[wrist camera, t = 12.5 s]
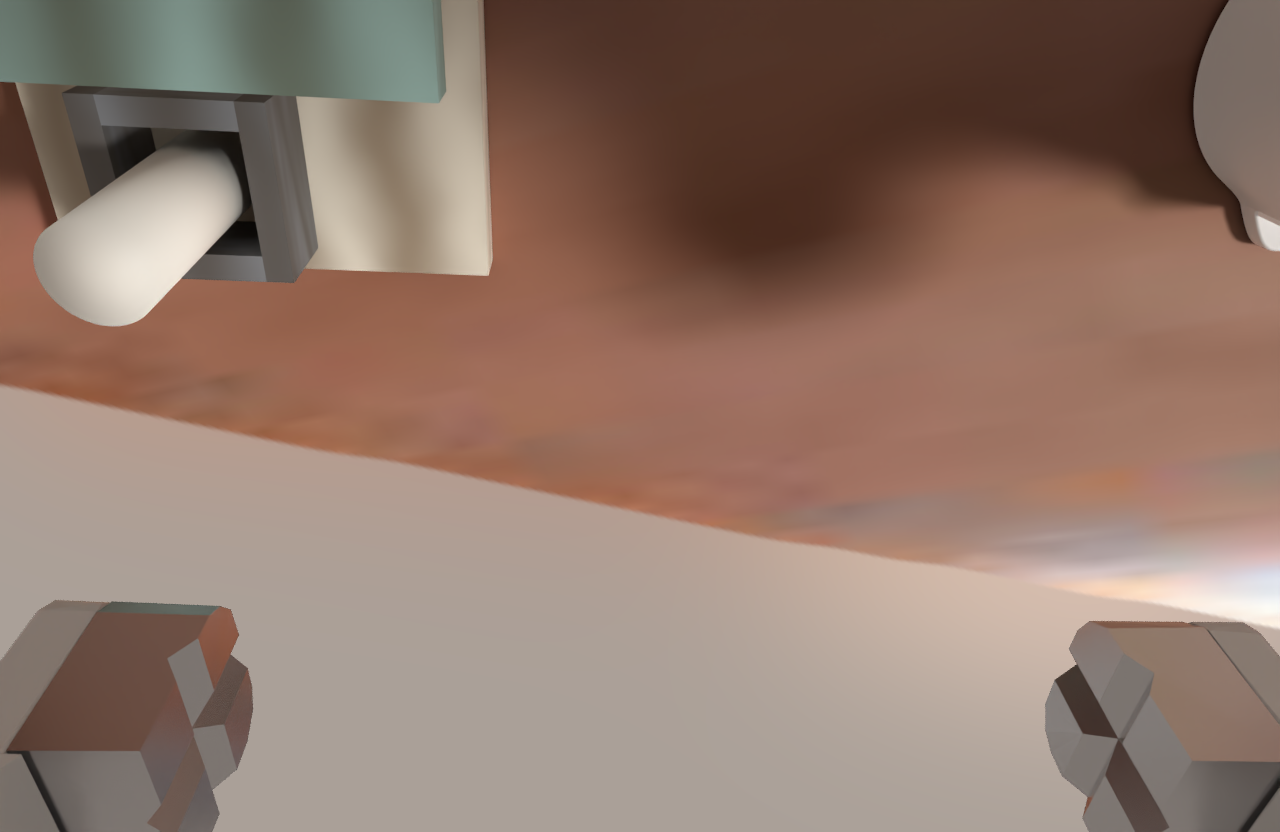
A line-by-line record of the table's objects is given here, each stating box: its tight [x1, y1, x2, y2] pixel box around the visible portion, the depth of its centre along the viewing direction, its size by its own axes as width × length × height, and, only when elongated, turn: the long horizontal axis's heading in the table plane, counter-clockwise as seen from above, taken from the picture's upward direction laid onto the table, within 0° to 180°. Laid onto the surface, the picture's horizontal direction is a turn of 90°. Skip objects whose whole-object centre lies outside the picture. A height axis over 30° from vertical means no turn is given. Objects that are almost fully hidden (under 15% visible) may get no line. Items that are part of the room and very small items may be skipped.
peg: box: [33, 129, 252, 326], centre depth 36 cm, size 4×4×12 cm
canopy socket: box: [0, 0, 493, 283], centre depth 35 cm, size 20×20×13 cm
